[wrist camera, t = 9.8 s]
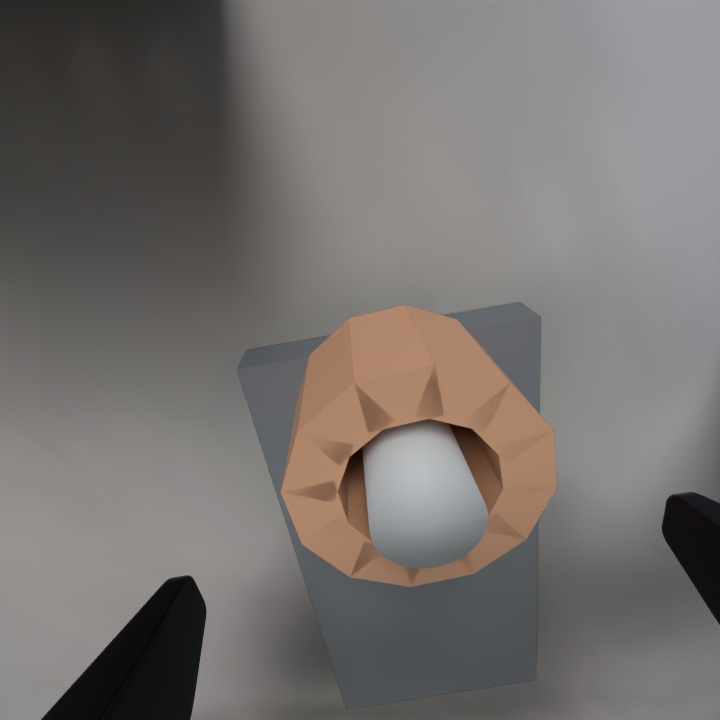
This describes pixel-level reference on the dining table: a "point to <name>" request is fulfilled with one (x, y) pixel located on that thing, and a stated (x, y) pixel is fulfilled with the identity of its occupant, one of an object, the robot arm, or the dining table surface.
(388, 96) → the dining table surface
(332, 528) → the ring
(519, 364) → the board
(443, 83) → the dining table surface
